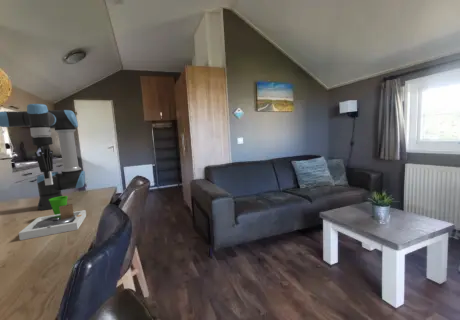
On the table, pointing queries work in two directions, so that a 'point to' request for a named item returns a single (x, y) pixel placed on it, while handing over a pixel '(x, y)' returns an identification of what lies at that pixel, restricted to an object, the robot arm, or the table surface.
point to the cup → (58, 203)
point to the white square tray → (33, 232)
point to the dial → (59, 217)
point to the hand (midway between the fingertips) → (49, 184)
